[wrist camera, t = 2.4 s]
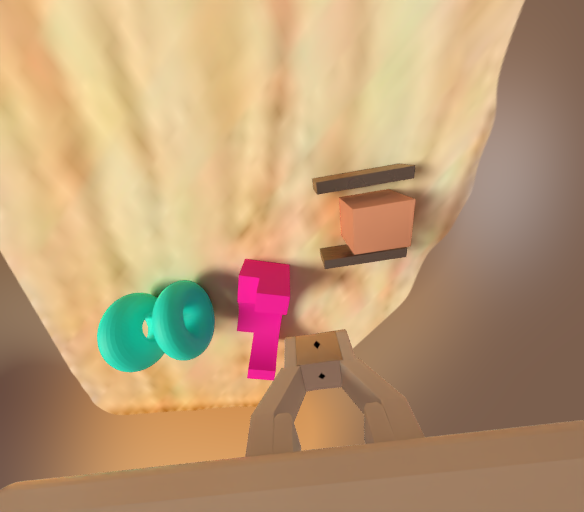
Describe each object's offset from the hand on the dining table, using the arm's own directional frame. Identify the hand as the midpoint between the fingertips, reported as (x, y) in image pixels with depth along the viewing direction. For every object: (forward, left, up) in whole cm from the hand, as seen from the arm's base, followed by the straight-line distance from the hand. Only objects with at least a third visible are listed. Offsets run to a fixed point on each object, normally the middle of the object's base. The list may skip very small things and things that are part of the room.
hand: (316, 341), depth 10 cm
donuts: (+9, -19, -19) cm, 29 cm away
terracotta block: (0, +9, -19) cm, 20 cm away
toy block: (+12, -7, -19) cm, 24 cm away
